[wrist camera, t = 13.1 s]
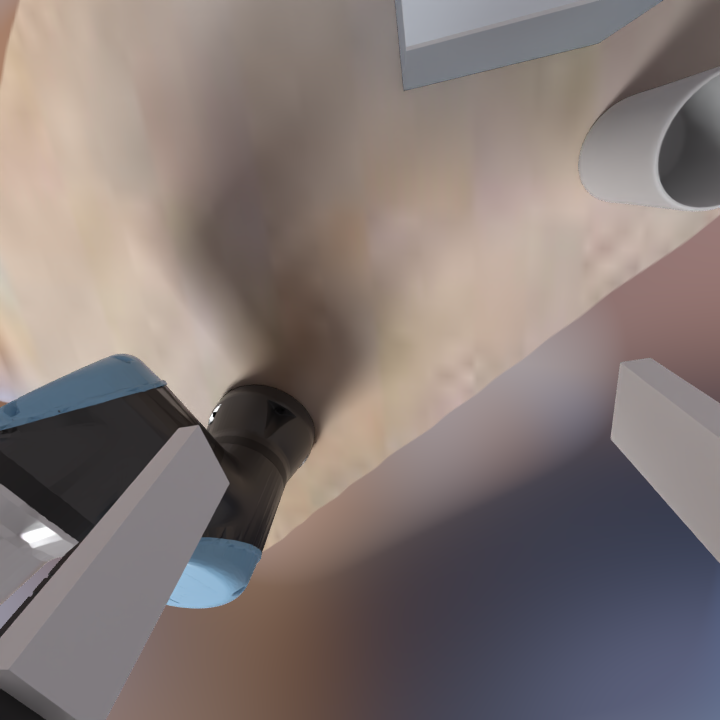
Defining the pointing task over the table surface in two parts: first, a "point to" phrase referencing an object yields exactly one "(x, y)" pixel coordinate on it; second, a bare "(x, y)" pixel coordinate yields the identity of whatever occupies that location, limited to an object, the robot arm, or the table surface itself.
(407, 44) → the grey box with hole
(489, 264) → the table surface
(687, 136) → the mug
